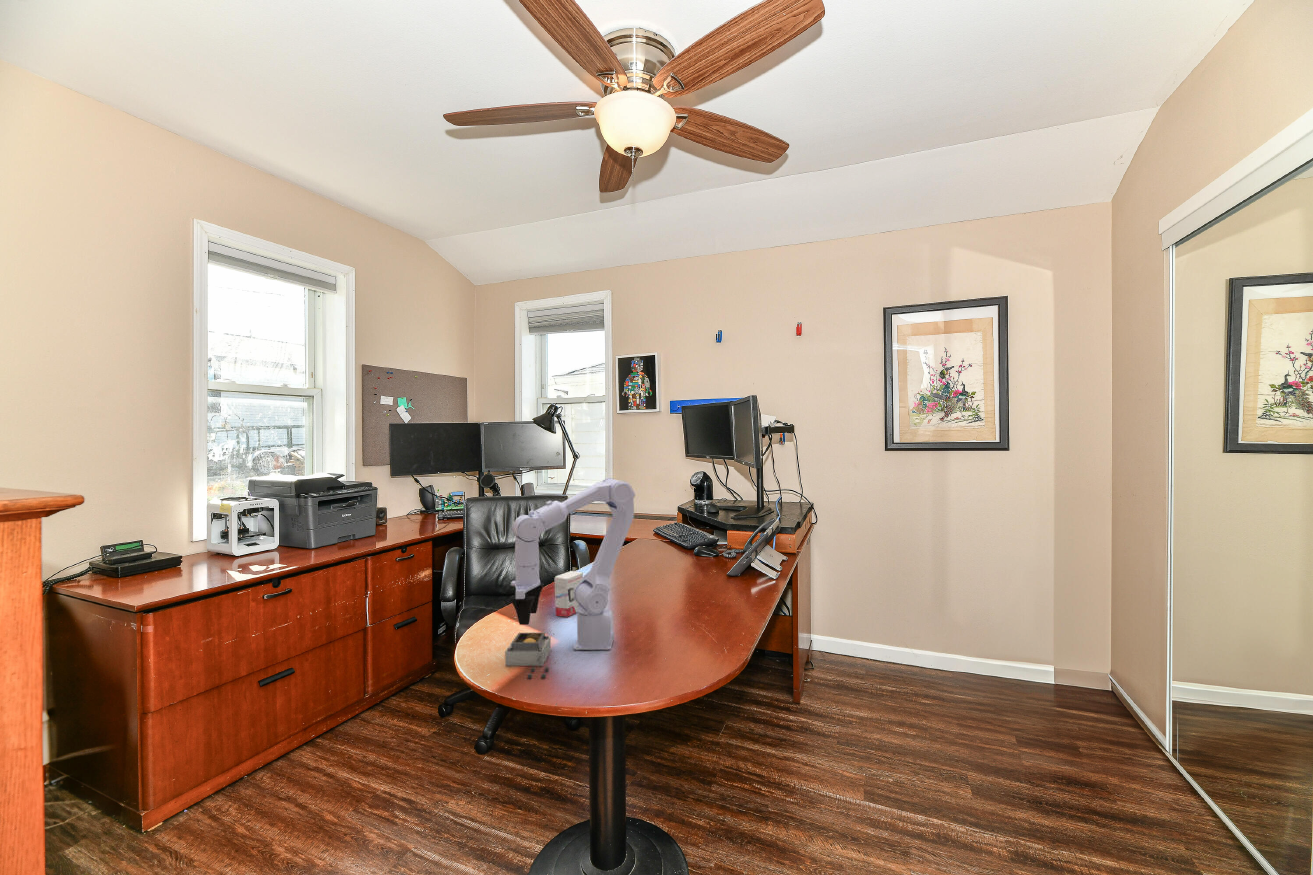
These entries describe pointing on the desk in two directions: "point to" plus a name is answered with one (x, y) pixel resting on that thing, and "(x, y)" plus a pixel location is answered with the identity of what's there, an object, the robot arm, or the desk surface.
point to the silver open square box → (528, 650)
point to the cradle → (541, 675)
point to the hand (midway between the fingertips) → (528, 618)
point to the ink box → (566, 593)
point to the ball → (529, 640)
